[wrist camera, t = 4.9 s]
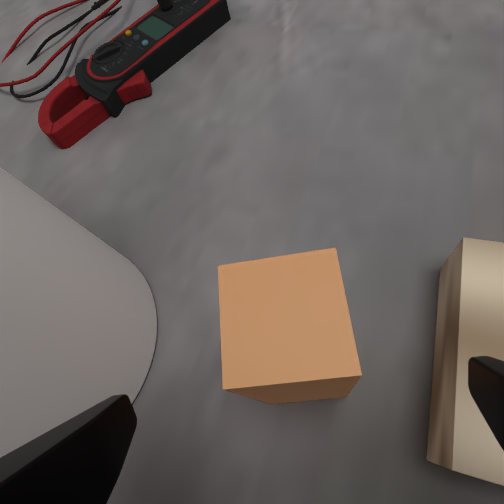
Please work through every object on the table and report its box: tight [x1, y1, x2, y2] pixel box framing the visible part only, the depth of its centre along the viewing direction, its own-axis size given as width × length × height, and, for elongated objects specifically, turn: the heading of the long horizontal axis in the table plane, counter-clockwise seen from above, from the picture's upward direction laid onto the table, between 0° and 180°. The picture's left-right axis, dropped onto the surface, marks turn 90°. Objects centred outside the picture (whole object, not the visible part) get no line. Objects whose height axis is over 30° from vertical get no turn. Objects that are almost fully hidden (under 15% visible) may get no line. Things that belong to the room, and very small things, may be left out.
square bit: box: [218, 248, 362, 404], centre depth 15 cm, size 4×4×10 cm
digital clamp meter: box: [0, 0, 231, 149], centre depth 36 cm, size 23×4×25 cm
